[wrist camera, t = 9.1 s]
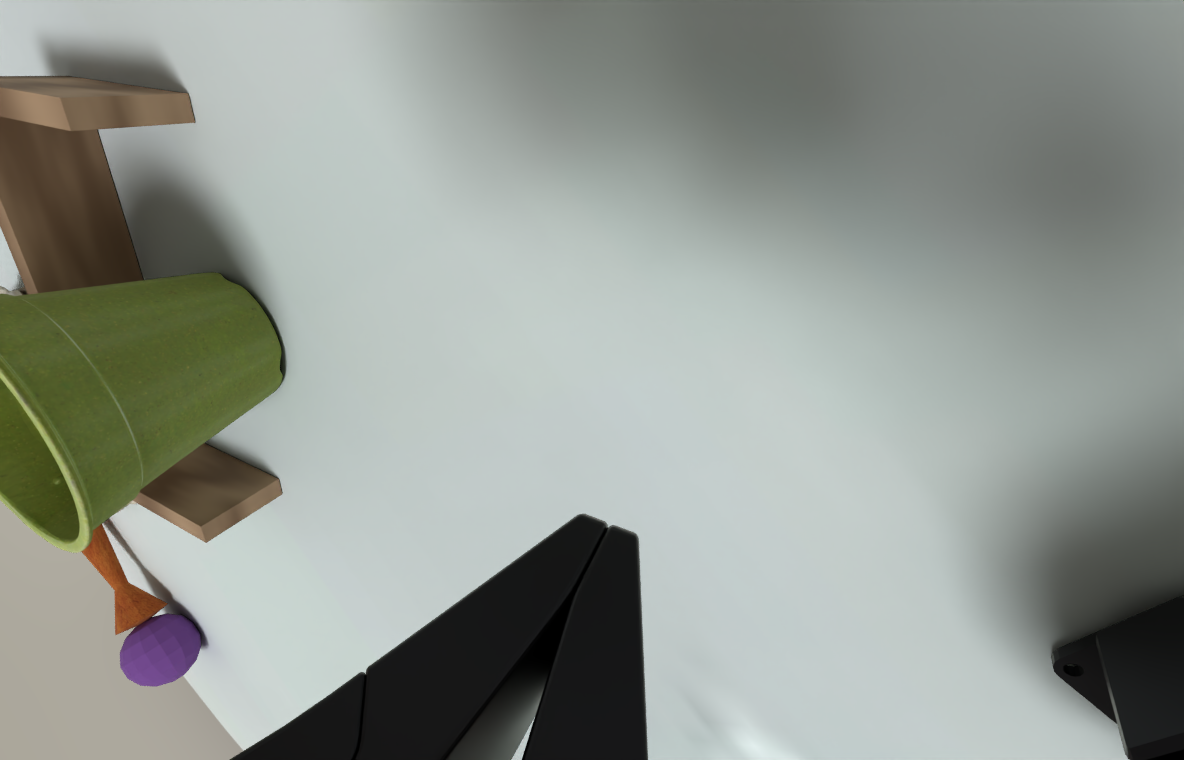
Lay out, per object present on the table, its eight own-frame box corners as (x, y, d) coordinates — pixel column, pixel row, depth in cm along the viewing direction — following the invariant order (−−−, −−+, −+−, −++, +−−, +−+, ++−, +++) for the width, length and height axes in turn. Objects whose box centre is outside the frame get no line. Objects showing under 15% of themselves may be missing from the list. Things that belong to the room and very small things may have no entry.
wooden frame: (188, 93, 27) (60, 97, 23) (282, 494, 38) (206, 542, 34) (67, 75, 31) (-62, 76, 27) (185, 446, 42) (106, 485, 38)
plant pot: (158, 328, 37) (-89, 409, 28) (183, 178, 30) (-138, 224, 21) (289, 467, 37) (78, 594, 28) (347, 347, 30) (88, 468, 21)
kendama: (32, 491, 50) (162, 693, 51) (109, 464, 56) (225, 647, 57) (6, 515, 53) (130, 707, 54) (83, 487, 58) (194, 662, 59)
